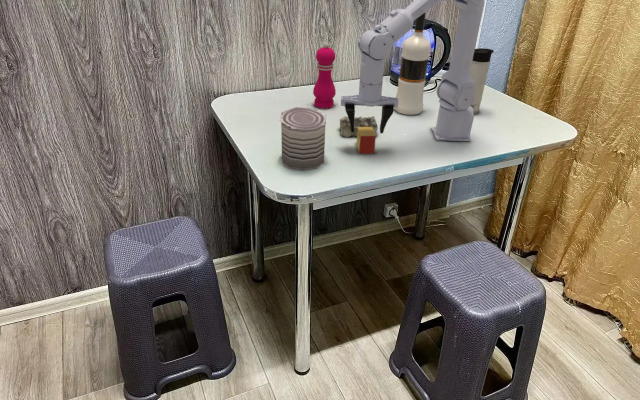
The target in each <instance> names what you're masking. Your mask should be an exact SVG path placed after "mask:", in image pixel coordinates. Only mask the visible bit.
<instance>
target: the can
mask: <svg viewBox="0 0 640 400" xmlns="http://www.w3.org/2000/svg"><path fill="white" fill-rule="evenodd" d="M279 122H280V125H281V126H280V128H281V129H280V131H281V135H280V136H281V163H282V164H283V165H284V166H286V167H287V168H288V169H292V170H298V171H309V170H316V169H318V168H320V167H321V166H322V165H324V164H325V147H326V145H325V144H326V125H327V115H326V114H324V113H322V112H321V111H319V110H317V109H316V108H312V107H311V108H310V107H298V106H296V107H293V108H290V109H287V110H284V111H281V114H280V118H279Z"/></svg>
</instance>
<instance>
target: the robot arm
mask: <svg viewBox="0 0 640 400" xmlns="http://www.w3.org/2000/svg"><path fill="white" fill-rule="evenodd" d="M442 1H444V2H445V1H446V2H447V1H450V0H413V1H412V2H411V3H410V4H408V5H407V7H406V8H397V9H393V10H391V11H390V12H389V16H387V17H386V18H385V19H383V20H382V21H381V22H380V23H379V24H376V25H375V26H374V27H373V29H367V30H366V31H365V32H363V33H362V35H361V36H360V38H359V40H358V41H357V47H358V50H359V51H360V54H361V55H360V58H361V59H360V70H359V71H360V73H359V86H358V94H355V95H354V94H353V95H341V96H340V106H341V107H344V110H345V113H346V115H347V117H348V118H349V121H350V125H351V132H352V133H354V117H355V115H356V106H360V107H361V106H363V107H364V106H365V107H381V118H380V125H379V133H380V134H384V131H385V129H386V126H387V123H388V121H389V120H390V118H391V117H392V116H393V114H394V111H395V109H394V107H395V108H398V102H399V100H398V98H396V97H392V96H387V95H386V96H385V95H382V94H383V93H382V92H383V82H384V72H385V64H386V63H385V62H386V57H388V56H389V54H390V53H391V51H392V48H393V46H394V45H395V44H396V43H397V42H398V41H399V40H400V39H402V38H403V37H404V36H405V35H406V34H407V33H409V32H410V31H411V30H412V29H413V27H414V21H416V19H417V18H418V17H419V16H421V15H422V14H424V13H426V12H428V11H429V10H430V9H433V7H435V6H436V5H437V4H439V3H440V2H442ZM453 2H454V3H455V4H456V6H457V7H458V8H459V15H458V20H457V24H456V31H455V36H454V41H453V45H452V52H451V57H450V62H449V67H448V70H447V71H445V72H444V73H442V75H441V79H440V81H439V83H438V85H437V87H436V96H437V97H438V99H439V101H438V103H439V108H438V113H437V119H436V124H435V125H436V126H432V127H431V131H432V133H433V136H434V138H435V140H436V141H448V142H449V141H450V142H451V141H452V142H470V140H471V139H470V136H471V132H472V128H473V123H474V116H475V114H474V111H473V108H472V107H471V104H472V103H473V101H474V98H475V93H474V85H475V83H474V81H473V79H472V77H471V75H470V69H471V64H472V60H473V55H474V50H475V49H476V46H477V41H478V36H479V31H480V27H481V22H482V18H483V13H484V8H485V3H486V2H485V0H453Z"/></svg>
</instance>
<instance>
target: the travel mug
mask: <svg viewBox="0 0 640 400" xmlns="http://www.w3.org/2000/svg"><path fill="white" fill-rule="evenodd" d="M494 51H495V50H494V49H491V48H486V47H485V48H475V50H474V55H473V60H472V64H471V69H470V75H471V77H472V79H473V81H474V83H475V85H474V93H475V98H474V101H473V103H472V104H471V107H472V108H473V111H474V115H477V114H479V112H480V108H481V104H482V100H483V99H482V98H483V94H484V91H485V85H486V82H487V77H488V73H489V68H490V63H491V58H492V54H494Z"/></svg>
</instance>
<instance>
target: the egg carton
mask: <svg viewBox="0 0 640 400" xmlns="http://www.w3.org/2000/svg"><path fill="white" fill-rule="evenodd" d="M338 121H339V131H340V136H343V137H345V138H350V137H352V136H353V137H354V136H355V137H357V131H358V127H372V128H373V130H374V133H375V136H376V135H377V132H378V129H379V126H378V123H377V120H376V117H375V115H372V116H368V117H366V116H363V117H362V116H358V117H357V116H356V117H354V133H352V132H351V125H350V121H349V118H348V115H347V116H342V117H341V118H339V120H338Z"/></svg>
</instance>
